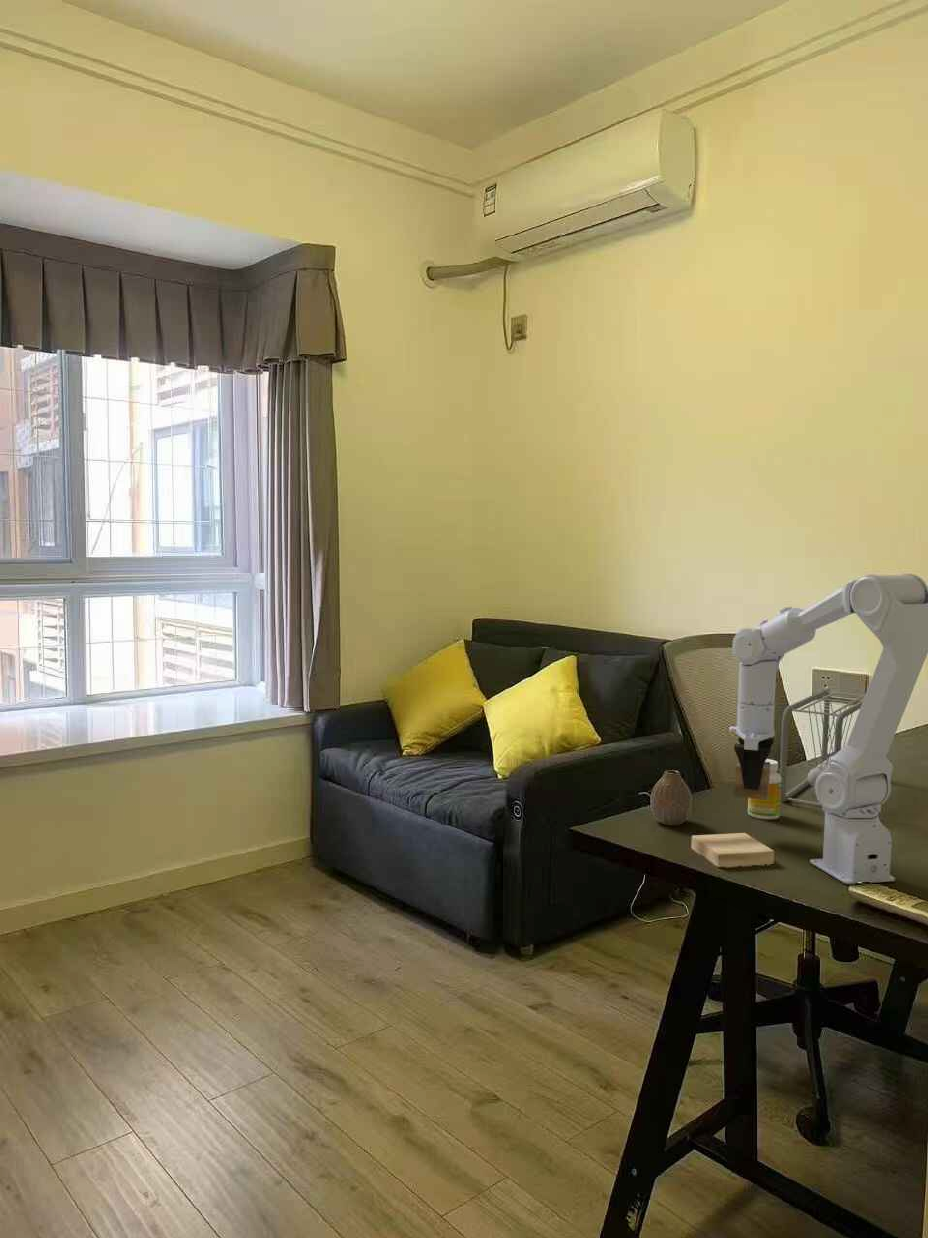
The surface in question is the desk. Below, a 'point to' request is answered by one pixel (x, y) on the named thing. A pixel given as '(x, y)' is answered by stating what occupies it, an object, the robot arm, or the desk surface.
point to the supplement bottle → (772, 804)
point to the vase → (671, 799)
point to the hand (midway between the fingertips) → (752, 785)
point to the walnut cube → (756, 794)
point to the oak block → (732, 850)
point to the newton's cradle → (825, 720)
